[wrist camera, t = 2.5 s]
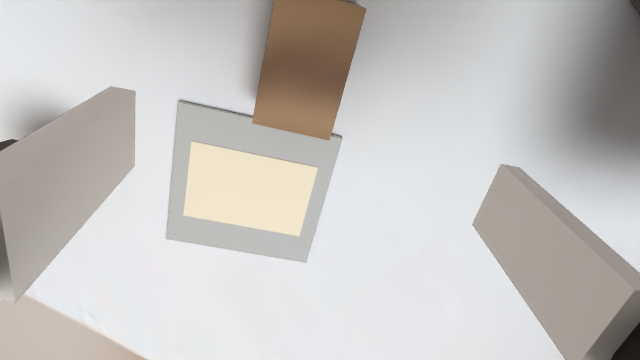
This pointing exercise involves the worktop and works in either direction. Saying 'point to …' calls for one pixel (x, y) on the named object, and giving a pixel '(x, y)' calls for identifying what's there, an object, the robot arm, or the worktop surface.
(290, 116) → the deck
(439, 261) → the worktop surface
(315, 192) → the mat
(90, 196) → the robot arm
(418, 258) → the worktop surface
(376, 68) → the worktop surface
